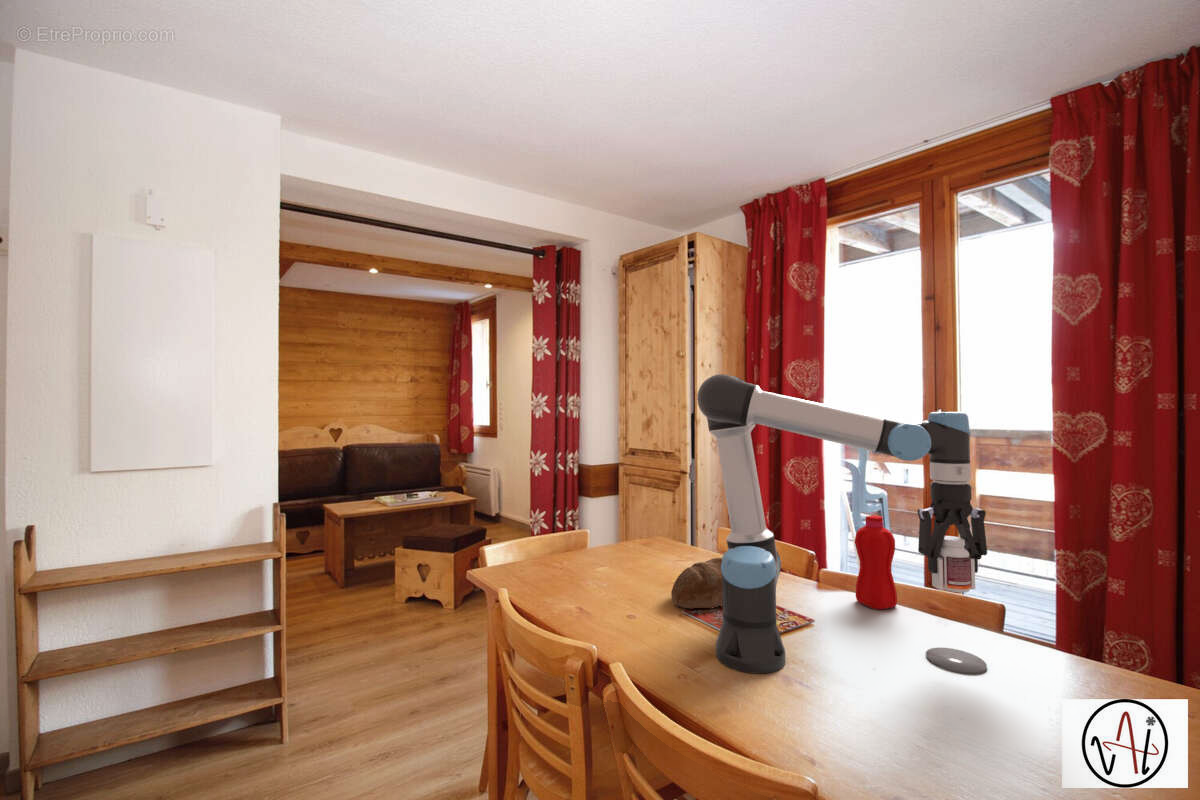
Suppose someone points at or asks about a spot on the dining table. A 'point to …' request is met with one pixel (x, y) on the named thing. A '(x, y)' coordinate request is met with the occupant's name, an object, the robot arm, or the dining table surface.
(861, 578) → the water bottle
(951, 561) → the pill bottle
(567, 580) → the dining table surface
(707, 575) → the bread
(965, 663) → the coaster
